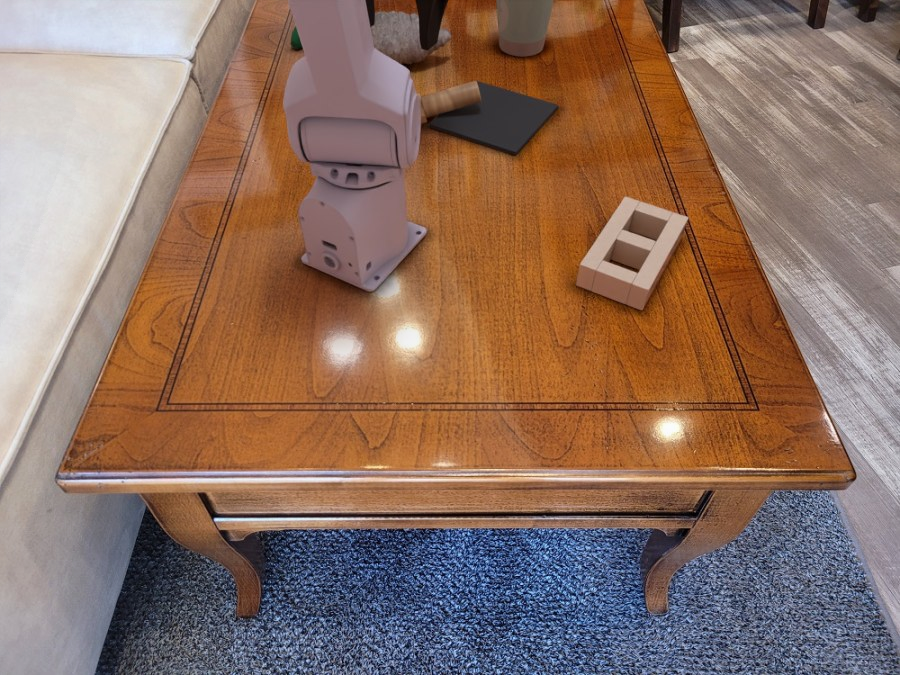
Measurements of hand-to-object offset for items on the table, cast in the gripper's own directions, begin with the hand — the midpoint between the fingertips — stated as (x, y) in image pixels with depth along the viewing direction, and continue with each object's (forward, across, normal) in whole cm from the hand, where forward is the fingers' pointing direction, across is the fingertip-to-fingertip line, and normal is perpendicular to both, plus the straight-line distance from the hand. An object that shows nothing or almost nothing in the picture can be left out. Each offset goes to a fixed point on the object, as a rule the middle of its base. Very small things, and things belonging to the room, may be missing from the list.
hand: (397, 36), depth 69 cm
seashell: (+11, +9, -12) cm, 18 cm away
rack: (+10, -30, +8) cm, 33 cm away
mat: (+10, -8, -7) cm, 15 cm away
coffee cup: (+11, -3, -24) cm, 26 cm away
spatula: (+8, -6, -7) cm, 12 cm away
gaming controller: (+11, +19, -12) cm, 25 cm away
